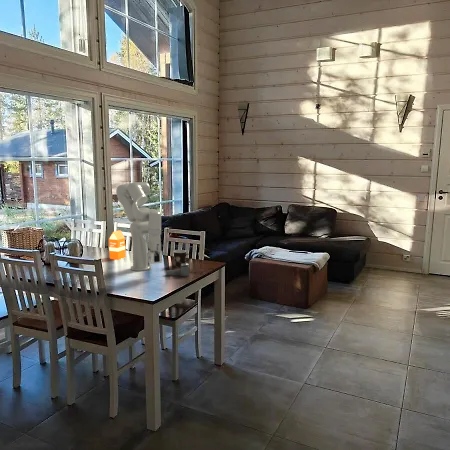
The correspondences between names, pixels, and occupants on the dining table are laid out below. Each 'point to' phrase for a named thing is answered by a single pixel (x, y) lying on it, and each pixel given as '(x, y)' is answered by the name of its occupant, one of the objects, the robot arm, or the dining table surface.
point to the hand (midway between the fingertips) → (155, 260)
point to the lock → (151, 257)
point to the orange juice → (117, 245)
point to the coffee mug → (180, 257)
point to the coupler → (182, 272)
